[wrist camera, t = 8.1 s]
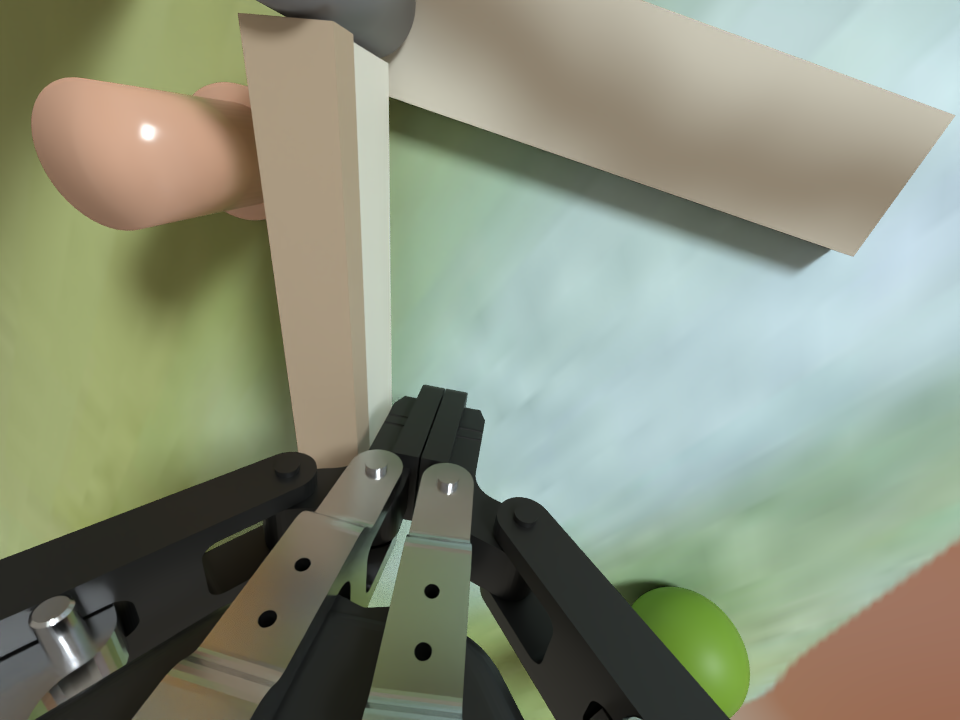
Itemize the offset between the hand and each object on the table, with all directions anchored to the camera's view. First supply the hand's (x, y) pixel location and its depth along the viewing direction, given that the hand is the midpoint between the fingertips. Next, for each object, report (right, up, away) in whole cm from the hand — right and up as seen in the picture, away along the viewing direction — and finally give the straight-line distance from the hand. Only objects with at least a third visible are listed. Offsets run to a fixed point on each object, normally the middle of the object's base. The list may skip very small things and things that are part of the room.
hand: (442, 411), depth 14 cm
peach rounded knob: (-6, +9, 0) cm, 11 cm away
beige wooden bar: (-2, +5, 0) cm, 6 cm away
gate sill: (+5, +10, -1) cm, 11 cm away
